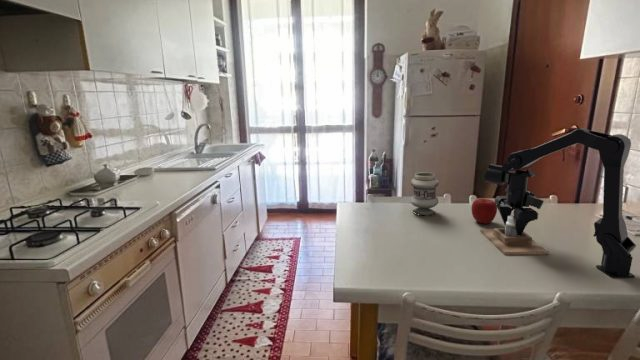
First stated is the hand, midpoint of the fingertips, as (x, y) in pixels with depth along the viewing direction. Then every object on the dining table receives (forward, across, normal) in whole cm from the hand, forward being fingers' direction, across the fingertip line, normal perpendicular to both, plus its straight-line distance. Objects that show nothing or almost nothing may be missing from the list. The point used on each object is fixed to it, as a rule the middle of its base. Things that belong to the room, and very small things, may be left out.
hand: (512, 230), depth 123 cm
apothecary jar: (+5, +33, +23) cm, 40 cm away
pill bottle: (+4, 0, 0) cm, 4 cm away
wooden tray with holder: (+4, 0, 0) cm, 4 cm away
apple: (+5, +20, +2) cm, 21 cm away
